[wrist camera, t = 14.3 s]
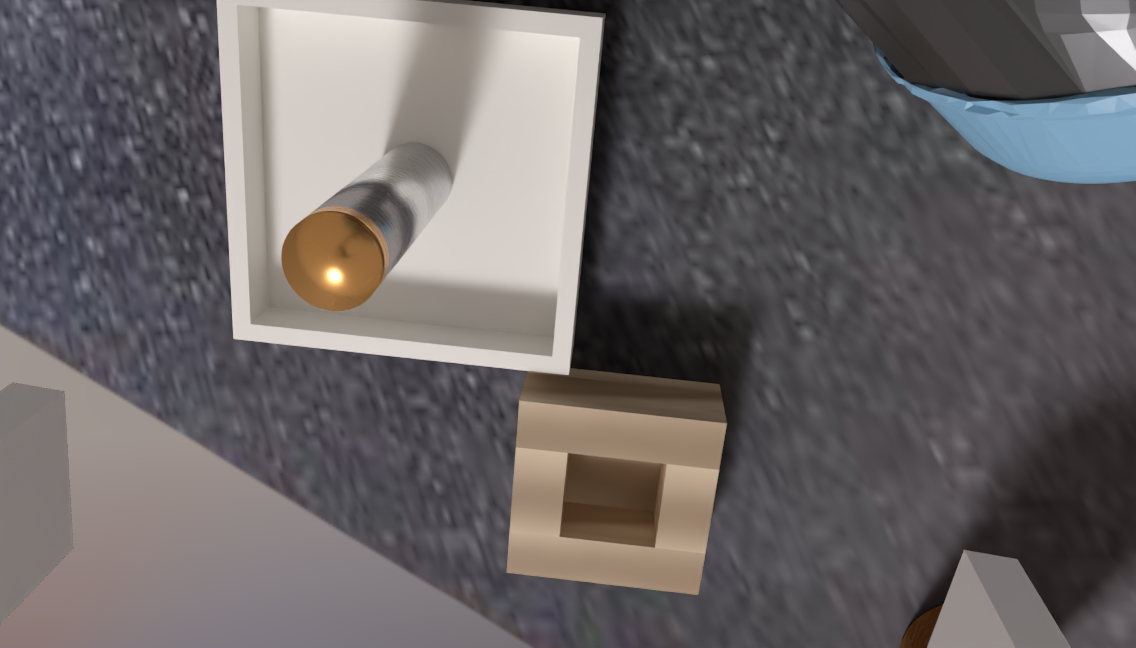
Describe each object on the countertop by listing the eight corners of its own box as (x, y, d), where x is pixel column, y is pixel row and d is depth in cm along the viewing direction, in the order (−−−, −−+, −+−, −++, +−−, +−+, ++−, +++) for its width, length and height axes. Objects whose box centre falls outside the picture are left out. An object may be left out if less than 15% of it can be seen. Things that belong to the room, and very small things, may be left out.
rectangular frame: (246, -21, 39) (215, -19, 36) (605, 13, 38) (603, 17, 36) (259, 314, 44) (233, 338, 42) (573, 348, 44) (568, 375, 41)
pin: (379, 138, 40) (279, 209, 29) (453, 146, 40) (381, 219, 29) (379, 211, 41) (282, 305, 30) (450, 218, 41) (380, 315, 30)
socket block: (529, 363, 44) (519, 400, 41) (719, 384, 44) (726, 423, 40) (517, 524, 48) (506, 572, 44) (693, 544, 47) (698, 594, 44)
